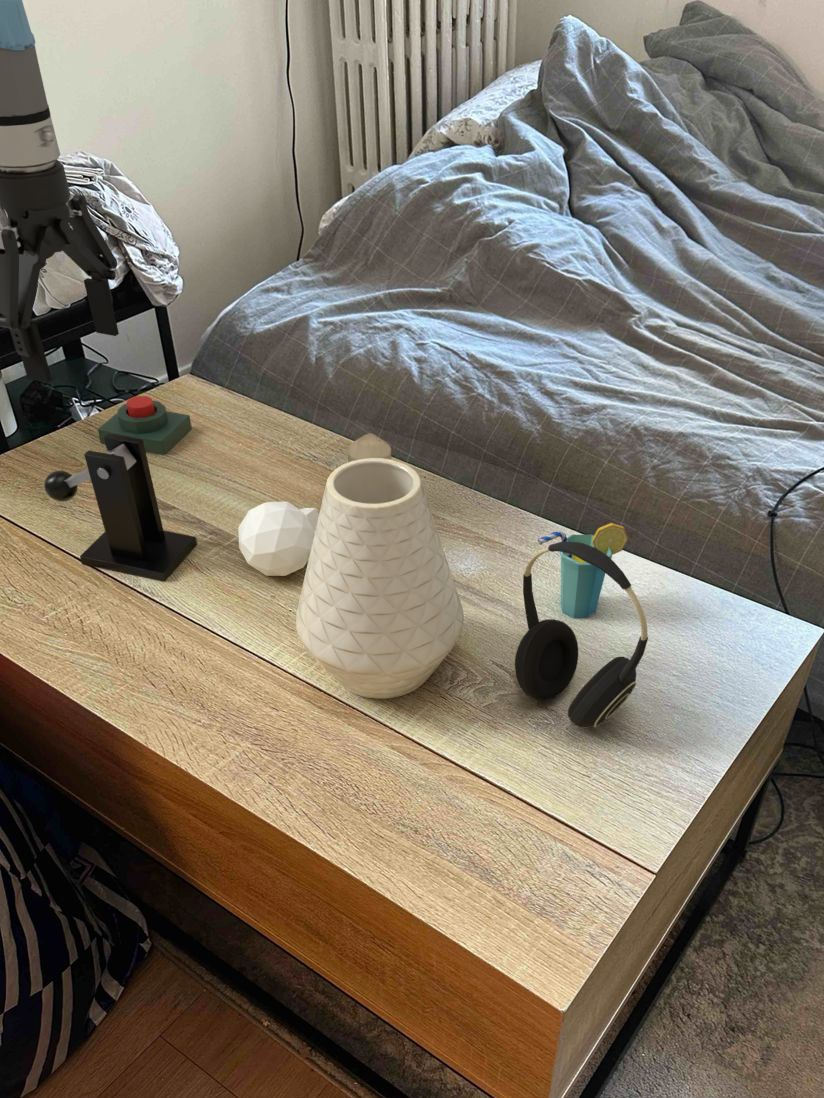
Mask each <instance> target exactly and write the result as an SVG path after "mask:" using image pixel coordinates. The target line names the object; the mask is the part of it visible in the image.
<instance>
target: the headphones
mask: <svg viewBox="0 0 824 1098" xmlns="http://www.w3.org/2000/svg"><path fill="white" fill-rule="evenodd" d="M548 552H551V553H553V552H559V553H560V552H565V553H569V554H572V555H574V556H576V557H578V558H580V559H582V560H583V561H585V562H587V563H589V564H592V565H594V566H596V567H597V568H599V569H601V570H602V571H603V572H604V573H605V575H607V576H609V578H611V579H612V580H613V581H614V582H615V583H616V584H617V585H618V586H619V587H620V588H621V589H622V590H624V591H625V592H626V594H627V596H628V597H629V598H630V601H631V602H632V604H633V606H634V609H635V611H636V613H637V616H638V619H639V623H640V630H641V634H640V636H639V638H638V641H637V643H636V647H635V649H634V651H633V654H632V655H631V657H630V659H629V658H628V657H625V656H616V657H614V658H613V659H612V660H610V661H608V662H607V663H606V664H605V665H604V666H602V667H601V668H600V669H599V670H598V671H597V672H596V673H595V674H594V675H593V676H592V677H591V678H590V679H589V680H588V681H587V682H586V683H585V685H584V686H583V687H582V688H581V689H580V690H579V691H578V693H577V694H576V696H575V697H574V698H573V700H572V701H571V703H570V705H569V706H568V709H567V717H568V718H569V721H570V722H571V723H572V724H573V725H574V726H576V727H578V728H583V729H584V728H585V729H586V728H592V727H594V728H596V727H599V726H600V725H602V724H603V723H604V722H606V721H607V720H608V719H609V718H610V717H612V716H613V715H614V714H615V713H616V712H617V711H618V710H619V709H620V708H621V706H622V705H623V704H624V703H626V701H627V700H628V698H629V697H630V695H631V694H632V692H633V690H634V689H635V687H636V685H637V668H638V666H639V664H640V662H641V660H642V658H643V657H644V654H645V650H646V647H647V644H648V640H649V637H648V623H647V618H646V615H645V612H644V608H643V606H642V604H641V602H640V600H639V598H638V597H637V594H636V593H635V592H634V589H633V588H632V583H631V582H630V581H629V579H628V577H627V575H626V574H625V572H624V571H623V570H622V569H621V568H620V567H619V566H618V565H617V563H616V562H615V561H614V560H612V558H610V557H608V556H607V555H606V554H604V553H603V552H602V551H600V550H599V549H597V548H595V547H592V546H589V545H587V544H584V543H579V542H562V541H558V542H555V543H552V544H549V545H548V546H547V547H545V548H542V549H541V550H538V551H537V552H536V553H535V554H534V555H533V556H532V557H530V559H529V561H528V563H527V565H526V567H525V570H524V574H523V576H522V594H523V595H522V596H523V602H524V603H523V604H524V612H525V618H526V623H527V628H528V630H527V631H526V633H524V635H523V637H522V638H521V639H520V641H519V642H518V645H517V647H516V651H515V653H514V654H515V655H514V673H515V677H516V681H517V685H518V686H519V688H520V690H521V691H522V692H523V694H524V695H526V696H527V697H529V698H530V699H534V700H537V701H541V702H542V701H543V702H544V701H550V700H554V699H555V698H557V697H559V696H560V695H561V694H562V693H563V692H565V690H566V689H567V688H568V687H569V685H570V684H571V682H572V680H573V678H574V677H575V673H576V670H577V667H578V663H579V644H578V639H577V637H576V634H575V632H574V630H573V629H572V627H570V626H569V625H568V624H567V623H565V622H564V621H561V620H559V619H554V618H549V619H548V618H547V619H543V620H540V619H539V615H538V611H537V610H538V609H537V607H536V602H535V597H534V592H533V591H534V590H533V579H532V578H533V577H532V575H533V574H532V568H533V566H534V564H535V562H536V561H537V560H538V558H539V557H541V556H542V555H544V554H546V553H548Z"/></svg>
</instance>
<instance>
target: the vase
mask: <svg viewBox="0 0 824 1098" xmlns="http://www.w3.org/2000/svg"><path fill="white" fill-rule="evenodd" d="M318 515H319V517H318V522H317V526H316V530H314V539H313V543H312V548H311V552H310V556H309V560H308V561H307V564H306V566H307V567H306V570H305V574H304V579H303V583H302V586H301V591H300V596H299V599H298V605H297V608H296V613H295V630H296V634H297V637H298V640H299V641H300V643H301V645H302V646H303V648H304V649H305V650H306V651H307V653H308V654H309V655H310V656H311V657H312V658H313V659H314V660H315V661H316V663H318V664H319V665H320V666H321V667H322V668H323V669H324V670H325V672H327V674H329V676H330V677H332V678H333V679H334V680H335V681H336V682H337V683H338V684H339V685H340V686H341V687H342V688H343V689H345V690H346V691H348V692H350V693H352V694H354V695H356V696H360V697H363V698H369V699H377V700H379V699H380V700H381V699H384V700H385V699H393V698H398V697H402V696H405V695H408V694H410V693H412V692H414V691H416V690H417V689H419V688H420V687H421V686H423V685H424V683H426V682H427V680H428V679H429V678H430V677H431V675H432V674H433V673H434V672H435V670H436V669H437V668H438V667H439V665H441V663H442V662H443V661H444V659H445V658H446V657H447V656H448V654H449V653H450V652H451V651H452V650H453V648H454V647H455V646H456V644H457V642H458V641H459V639H460V637H461V636H462V635H461V634H462V631H463V628H464V623H465V622H464V621H465V616H464V608H463V604H462V601H461V599H460V598H461V597H460V596H459V592H458V590H457V587H456V583H455V580H454V577H453V574H452V572H451V568H450V565H449V561H448V559H447V556H446V553H445V550H444V546H443V544H442V541H441V537H440V535H439V532H438V528H437V524H436V522H435V520H434V516H433V513H432V510H431V507H430V504H429V501H428V498H427V494H426V492H425V489H424V485H423V482H422V479H421V477H420V475H419V473H418V472H417V471H416V470H415V469H414V468H412V466H409V465H407V464H406V463H404V462H401V461H398V460H394V459H391V460H390V459H382V458H367V459H360V460H355V461H351V462H348V461H347V462H345V463H344V464H343V463H342V464H341V465H339V466H338V467H336V468H335V469H334V470H333V471H332V472H331V473H330V474H329V475H328V477H327V479H326V483H325V488H324V491H323V496H322V501H321V505H320V509H319V512H318Z"/></svg>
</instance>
